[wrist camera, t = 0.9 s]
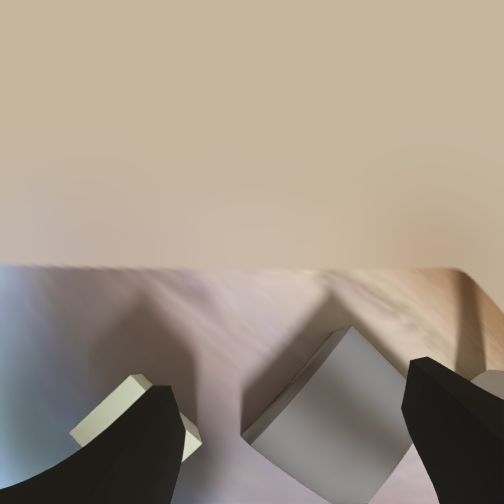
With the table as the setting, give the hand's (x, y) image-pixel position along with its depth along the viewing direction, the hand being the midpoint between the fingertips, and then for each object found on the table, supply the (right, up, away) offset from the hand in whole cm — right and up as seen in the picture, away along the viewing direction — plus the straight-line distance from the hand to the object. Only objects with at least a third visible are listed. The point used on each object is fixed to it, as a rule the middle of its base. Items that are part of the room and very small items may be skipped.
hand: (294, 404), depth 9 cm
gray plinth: (+5, -8, +12) cm, 15 cm away
